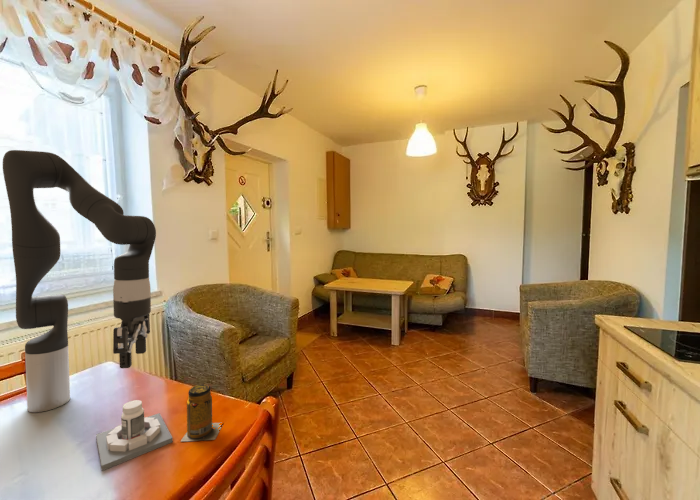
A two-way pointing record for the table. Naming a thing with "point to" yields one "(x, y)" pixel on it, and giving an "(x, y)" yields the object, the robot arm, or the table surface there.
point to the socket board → (133, 453)
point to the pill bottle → (132, 420)
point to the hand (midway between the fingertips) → (133, 360)
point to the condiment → (200, 415)
